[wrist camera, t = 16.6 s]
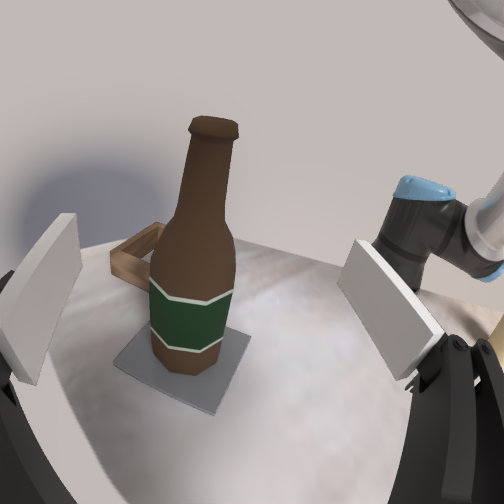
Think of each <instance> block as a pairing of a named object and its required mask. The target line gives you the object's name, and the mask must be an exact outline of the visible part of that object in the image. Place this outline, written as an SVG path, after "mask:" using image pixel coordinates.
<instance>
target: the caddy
mask: <svg viewBox="0 0 504 504" xmlns="http://www.w3.org/2000/svg"><path fill="white" fill-rule="evenodd" d="M165 226H166V225H165V224H162V223H159V222H155V223H153V224H152V225H151V226H149V227H147V228H145V229H144V230H142V231H141V232H139V233H137V234H136V235H135V236H133V237H131V238H130V239H128V240H127V241H125V242H124V243H122V244H120V245H119V246H117V247H116V248H114V249H113V250H111V251H110V262H111V274H112V275H114V276H116V277H118V278H120V279H122V280H124V281H126V282H128V283H131V284H133V285H135V286H137V287H139V288H141V289H143V290H145V291H147V292H149V273H150V263H148V262H146V261H143V260H141V258H142V257H143V256H145V255H146V254H147V253H149V252H150V251H151V250H153V249H154V248H155V247H156V244H157V242H158V240H159V238H160V236H161V234H162V232H163V230H164V227H165Z"/></svg>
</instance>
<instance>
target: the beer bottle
mask: <svg viewBox="0 0 504 504" xmlns="http://www.w3.org/2000/svg"><path fill="white" fill-rule="evenodd" d="M188 131H189V132H190V133H191V134H192V135H191V140H190V145H189V149H188V153H187V158H186V163H185V168H184V173H183V178H182V183H181V188H180V193H179V200H178V204H177V208H176V211H175V214H174V217H173V218H172V219H171V220H170V221H169V223H168V224H167V225H166V226H165V227H164V230H163V232H162V234H161V236H160V238H159V240H158V242H157V244H156V247H155V249H154V252H153V254H152V256H151V262H150V273H149V299H150V325H151V342H152V349H153V354H154V355H155V356H156V357H157V358H158V359H159V361H160V362H161V363H162V364H163V365H164V366H165V368H166V369H167V370H168V371H169V372H172V373H178V374H185V375H192V376H196V375H198V374H200V373H201V372H203V371H204V370H206V369H207V368H209V367H211V366H212V365H214V364H215V363H217V360H218V356H219V353H220V348H221V344H222V339H223V334H224V330H225V325H226V321H227V316H228V311H229V307H230V302H231V298H232V293H233V288H234V280H235V272H236V257H235V247H234V241H233V237H232V234H231V232H230V230H229V229H228V226H227V224H226V222H225V200H226V192H227V184H228V177H229V169H230V162H231V155H232V148H233V141H234V140H236V139H238V138H239V133H238V124H237V123H236V122H234V121H233V120H228V119H224V118H218V117H211V116H198V117H195V118H193V120H192V122H191V124H190V126H189V128H188Z"/></svg>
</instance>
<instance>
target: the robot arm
mask: <svg viewBox="0 0 504 504" xmlns="http://www.w3.org/2000/svg"><path fill="white" fill-rule="evenodd" d="M448 1H449V3H450V5H451V6H452V8H453V9H454V10H455V12H456V13H457V14H458V15H459V16H460V18H461V19H462V20H463V21H464V23H465V24H466V25H467V26H468V27H469V28H471V30H472V31H473V32H474V33H475V34H476V35H477V36H478V37H479V38H480V39H481V40H482V41H483V42H484V43H485V44H486V45H487V46H488V47H489V48H490V49H491V50H493V51H494V52H495V53H496V54H497V55H498V56H499V57H501V59H503V60H504V0H448ZM393 196H394V197H393V200H392V202H391V205H390V207H389V210H388V212H387V215H386V217H385V220H384V222H383V225H382V227H381V230H380V232H379V234H378V237H377V238H376V240H375V241H374V242H373V243H372V244H370V243H369V242H368V241H366V240H358V239H355V241H354V244H353V246H352V249H351V251H350V254H349V256H348V258H347V261H346V263H345V265H344V268H343V270H342V272H341V275H340V277H339V279H338V281H337V284H338V285H339V287H340V288H341V290H342V291H343V293H344V295H345V296H346V298H347V299H348V301H349V303H350V304H351V306H352V307H353V309H354V311H355V312H356V314H357V315H358V317H359V319H360V320H361V322H362V324H363V325H364V327H365V329H366V330H367V332H368V334H369V335H370V337H371V339H372V340H373V342H374V344H375V345H376V347H377V349H378V350H379V352H380V354H381V356H382V357H383V359H384V361H385V363H386V364H387V366H388V368H389V370H390V371H391V373H392V375H393V377H394V379H395V380H396V381H397V380H400V379H404V378H407V377H409V375H410V374H411V373H412V372H413V371H414V370H415V369H417V370H418V372H419V373H418V374H417V375H416V376H415V377H414V378H413V379H412V381H411V382H410V383H409V384H408V385H407V386H406V388H405V390H406V391H407V390H408V389H409V388H410V387H411V386H414V387H413V388H412V389H411V390H410V391H409V392H411V393H413V395H412V403H411V410H410V416H409V422H408V427H407V433H406V438H405V443H404V447H403V452H402V456H401V460H400V464H399V468H398V471H397V475H396V478H395V482H394V485H393V488H392V492H391V495H390V498H389V501H388V504H504V373H503V370H502V368H501V365H500V363H499V360H498V358H497V355H496V353H495V350H494V349H493V347H492V346H491V344H490V343H489V342H488V341H487V340H484V339H479V340H478V341H477V342H476V343H475V345H474V346H473V347H470V346H468V344H467V343H466V342H465V341H464V340H463V339H462V338H461V337H459V336H457V335H454V334H452V335H450V336H448V335H447V334H446V332H445V331H444V330H443V328H442V327H441V326H440V325H439V323H438V322H437V321H436V319H435V318H434V317H433V316H432V314H430V312H429V311H428V309H427V308H426V307H425V306H424V304H423V303H422V302H421V301H420V299H418V298H417V294H418V292H419V290H420V285H421V280H422V275H423V271H424V265H425V263H426V261H427V259H428V257H429V255H430V253H433V254H435V255H437V256H438V257H440V258H442V259H444V260H446V261H447V262H449V263H451V264H453V265H454V266H456V267H458V268H459V269H461V270H463V271H464V272H466V273H468V274H469V275H470V276H471V277H472V278H475V279H478V280H480V281H482V282H491V281H494V280H495V279H497V278H498V277H499V276H500V275H501V274H502V272H503V269H504V173H503V174H502V176H501V177H500V178H499V180H498V181H497V183H496V185H494V187H493V188H492V190H491V191H490V192H489V194H488V195H487V196H486V198H480V199H476V200H474V201H473V202H472V203H471V204H470V205H469V206H467V205H465V204H463V203H461V202H459V201H457V200H456V199H455V198H456V192H455V191H454V190H452V189H450V188H448V187H446V186H443V185H441V184H438V183H436V182H433V181H430V180H427V179H424V178H420V177H416V176H412V175H406V176H403V177H402V178H401V179H400V181H399V184H398V186H397V188H396V191H395V192H394V194H393ZM76 220H77V218H76V214H73V213H61V214H60V215H59V216H58V217H57V219H56V220H55V221H54V222H53V223H52V224H51V225H50V227H49V228H48V229H47V230H46V232H45V233H44V234H43V235H42V236H41V238H40V239H39V240H38V241H37V243H36V244H35V245H34V247H33V248H32V249H31V250H30V252H29V253H28V254H27V256H26V257H25V259H24V260H23V261H22V263H21V264H20V265H19V267H18V268H17V270H16V271H12V270H11V271H10V272H8V273H7V274H6V275H5V276H3V277H2V278H1V279H0V504H77V502H76V501H75V500H74V499H73V497H72V496H71V494H70V493H69V492H68V490H67V489H66V487H65V486H64V484H63V483H62V482H61V480H60V479H59V477H58V476H57V474H56V472H55V471H54V469H53V468H52V466H51V464H50V463H49V461H48V459H47V457H46V456H45V454H44V452H43V451H42V449H41V447H40V445H39V443H38V441H37V439H36V437H35V435H34V434H33V431H32V429H31V427H30V425H29V423H28V421H27V419H26V417H25V414H24V412H23V410H22V407H21V405H20V402H19V400H18V397H17V395H16V392H15V390H14V387H13V385H12V383H11V381H10V380H9V378H10V375H11V372H13V373H14V375H15V376H16V378H17V379H18V380H19V381H21V382H24V383H27V384H31V385H34V386H36V385H37V382H38V378H39V375H40V371H41V368H42V365H43V362H44V359H45V356H46V353H47V350H48V347H49V344H50V341H51V339H52V336H53V333H54V330H55V328H56V325H57V323H58V320H59V318H60V315H61V313H62V310H63V308H64V306H65V303H66V301H67V299H68V297H69V294H70V292H71V290H72V288H73V285H74V283H75V281H76V279H77V277H78V275H79V273H80V271H81V269H82V267H83V266H82V260H81V253H80V246H79V238H78V229H77V221H76ZM478 376H480V380H481V381H480V382H479V383H478V384H477V385H476V386H475V387H474V380H475V379H476V378H477V377H478Z"/></svg>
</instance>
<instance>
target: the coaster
mask: <svg viewBox="0 0 504 504" xmlns="http://www.w3.org/2000/svg"><path fill="white" fill-rule="evenodd" d="M250 339H251V336H249V335H247V334H244V333H241V332H239V331H236V330H233V329H231V328H228V327H226V326H225V330H224V334H223V339H222V344H221V348H220V353H219V356H218V360H217V363H215V364H214V365H212V366H211V367H209V368H207V369H206V370H204V371H203V372H201V373H200V374H198V375H196V376H192V375H185V374H178V373H172V372H169V371H168V370H167V369H166V368H165V366H164V365H163V364H162V363H161V362H160V361H159V359H158V358H157V357H156V356H155V355H154V354H153V349H152V342H151V325H150V321H149V322H148V323H147V324H146V325H145V326H144V327H143V328H142V330H141V331H140V332H139V333H138V334H137V335H136V336H135V337H134V339H133V340H132V341H131V342H130V343H129V344H128V345H127V346H126V348H125V349H124V350H123V351H122V352H121V353H120V354H119V355H118V357H117V358H116V359H115V360H114V361H113V364H114V365H115V366H116V367H118V368H120V369H121V370H123V371H125V372H126V373H128V374H130V375H131V376H133V377H135V378H137V379H138V380H140V381H142V382H144V383H146V384H147V385H149V386H151V387H153V388H155V389H157V390H159V391H161V392H163V393H165V394H167V395H169V396H171V397H173V398H175V399H177V400H179V401H181V402H183V403H185V404H187V405H190V406H192V407H194V408H196V409H199V410H201V411H203V412H206V413H208V414H210V415H213V416H214V415H215V413H216V411H217V409H218V407H219V405H220V403H221V401H222V399H223V397H224V395H225V392H226V390H227V388H228V386H229V384H230V382H231V380H232V378H233V376H234V373H235V371H236V369H237V367H238V365H239V363H240V361H241V358H242V356H243V354H244V352H245V350H246V348H247V345H248V343H249V341H250Z"/></svg>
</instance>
